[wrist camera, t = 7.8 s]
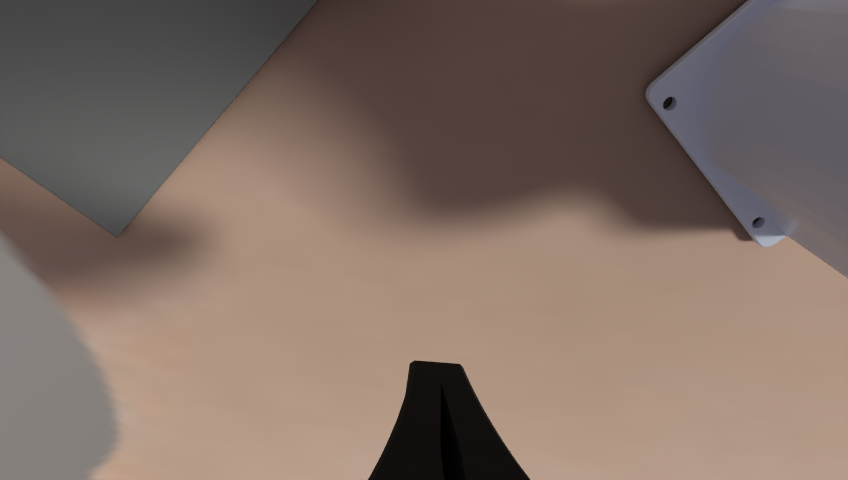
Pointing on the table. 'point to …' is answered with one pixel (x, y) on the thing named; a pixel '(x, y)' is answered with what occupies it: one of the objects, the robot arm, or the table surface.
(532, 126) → the table surface
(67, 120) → the mat
